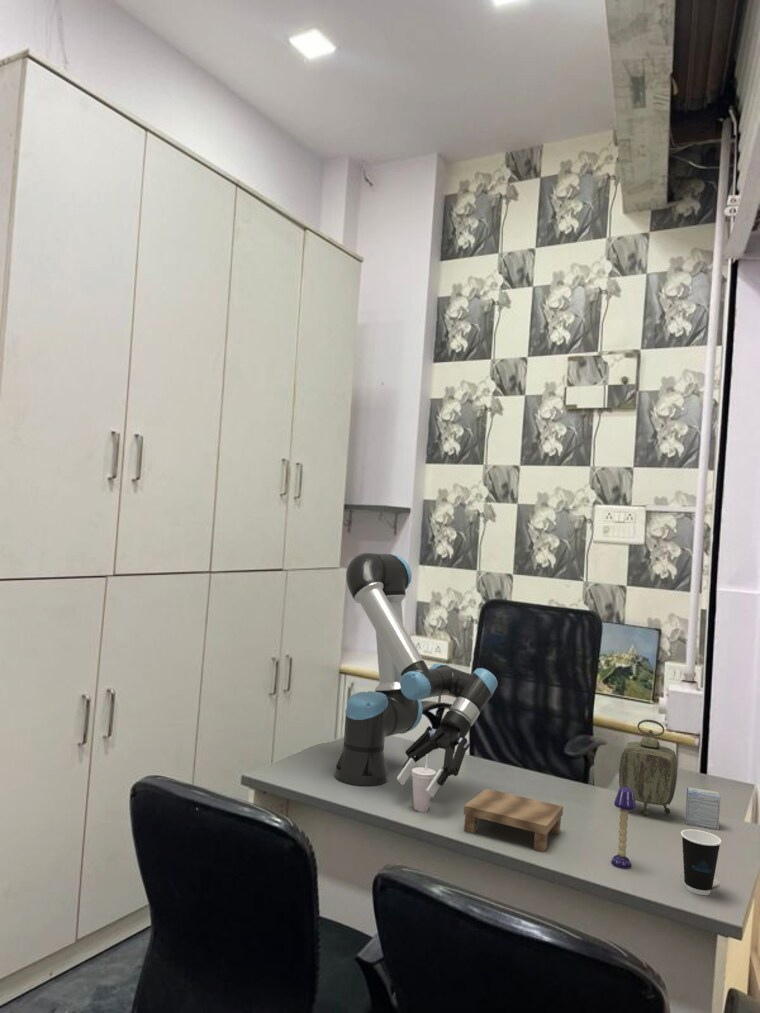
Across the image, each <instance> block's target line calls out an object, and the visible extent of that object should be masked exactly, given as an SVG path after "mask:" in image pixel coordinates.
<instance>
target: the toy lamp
mask: <svg viewBox="0 0 760 1013" xmlns="http://www.w3.org/2000/svg"><path fill="white" fill-rule="evenodd" d="M636 804H637V803H636V800H635V798H634V793H633V790H632V789H631V788H628V787H620V786H619V788H618V789H617V793H616V797H615V799H614V803H613V805H614V806H615V807H616V808H618V809H619V810H620V814H619V824H618V826H619V828H618V833H619V835H618V844H617V846H618V850H617V854H616V855H614V856H613V857H612V858H611V861H610V862H611V865H612V864H613V865H612V866H614V867H616V868H620V869H629V868H632V863H631V860H630V859H629V858H628V857H627V850H626V849H627V841H628V838H627V835H628V829H627V828H628V826H629V824H628V820H629V815H628V814H629V811H633V810H636V809H637V808H636V807H637V805H636Z"/></svg>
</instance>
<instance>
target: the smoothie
mask: <svg viewBox="0 0 760 1013" xmlns="http://www.w3.org/2000/svg"><path fill="white" fill-rule="evenodd" d="M428 762H429V753H428V754H426V755H425V765H424V766H425V767H424V766H423V767H417V766H416V767H415V768H413V769H412V772H411V776H412V796H413V802H412V803H413V809H415V810H414V811H416V810H417V812H422V813H424V812H428V811H429V806H430V804H431V798H432V797H431V796H430V795H429V794H428V792H427V791H426V789H427V788H428V786H429V785H430V783H431V781H432V780H433V778H434V777H435V775H436V774H437V771H436V770H434V769H432V768H429V767H428V764H429V763H428Z"/></svg>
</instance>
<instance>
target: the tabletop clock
mask: <svg viewBox="0 0 760 1013" xmlns="http://www.w3.org/2000/svg"><path fill="white" fill-rule="evenodd" d="M643 723H653V724H656V725H658V726H660V727H661V729H662V731H661V732H659V733H654V732H653V730H651V729H649V730H648V732H646V731H644V730H642V728H640V725H641V724H643ZM637 730H638V731H639V732H640V733H642V734H644V735H646V736H643V737H641V740H640V741H631V742H630V741H629V742H628V743H626V746H625V748H624V749H623V751H622V753H621V756H620V761H619V768H618V781H619V782H618V783H619V788H620V787H628V788H631V789H632V790H633V793H634V798H635V802H636V801H637V802H640V803H643V804H644V806H643V807H644V809H642V811H641V814H642V815H643V816H645V817H646V816H648V814H649V810H648V809H647V808H648V805H656V806H663V808H664V810H663V812H664V814H665V815H670V814H671V809H670V808H668V807H667V805H671V803H672V801H673V799H674V796H675V793H676V792H675V791H676V786H677V781H678V760H677V759H678V758H677V755H676V751H675V750H673V749H671V748H670V747H668V746H664V745H661V744H660V741H659V739H658V738H656V737H659V736H660V737H661V736H662V735H664V733H665V726H664V725H663V724H662V723H661V722H659V721H657V720H654V719H642V720H641V721H639V722H638V723H637Z"/></svg>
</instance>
